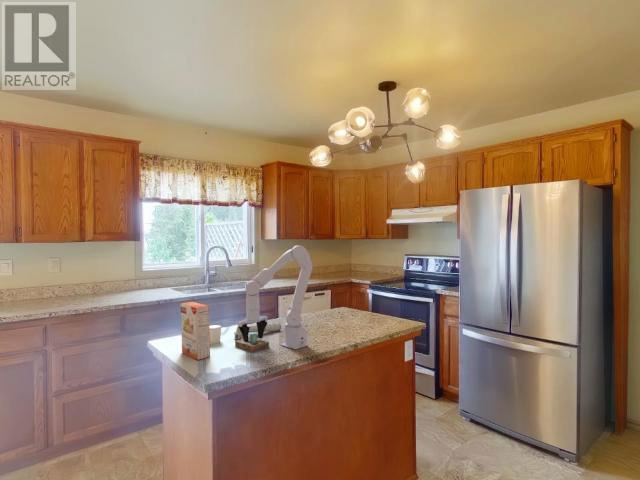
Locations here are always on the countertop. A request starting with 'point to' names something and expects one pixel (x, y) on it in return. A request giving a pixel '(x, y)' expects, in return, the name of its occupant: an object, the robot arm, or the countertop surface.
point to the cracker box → (195, 330)
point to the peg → (253, 338)
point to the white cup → (215, 333)
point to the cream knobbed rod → (254, 328)
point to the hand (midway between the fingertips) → (253, 339)
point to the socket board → (252, 345)
